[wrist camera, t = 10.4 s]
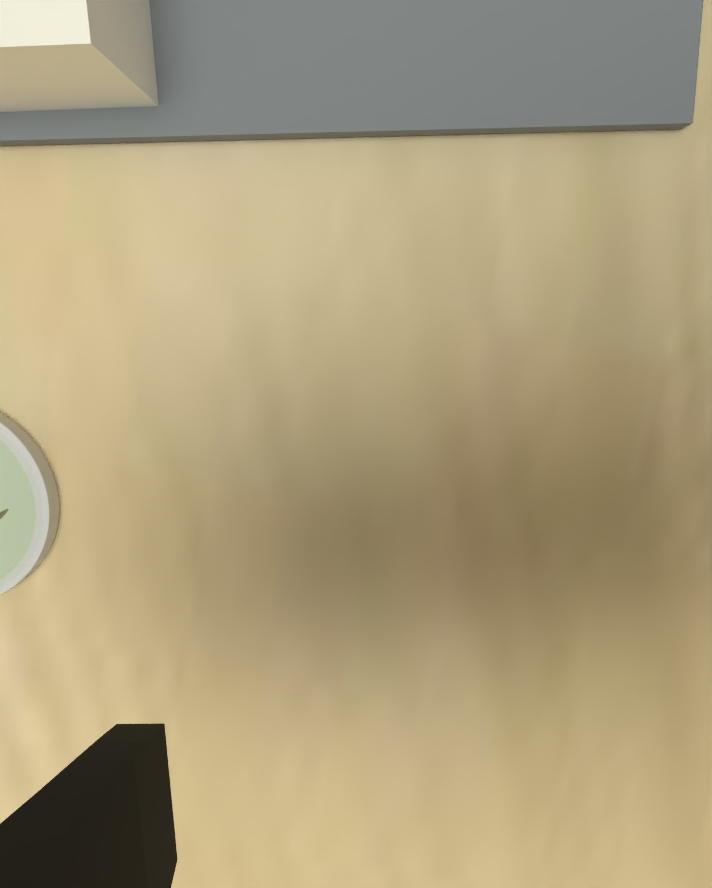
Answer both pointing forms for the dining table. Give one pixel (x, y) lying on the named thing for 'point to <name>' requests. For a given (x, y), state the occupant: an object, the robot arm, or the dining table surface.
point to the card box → (76, 55)
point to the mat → (397, 71)
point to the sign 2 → (24, 504)
